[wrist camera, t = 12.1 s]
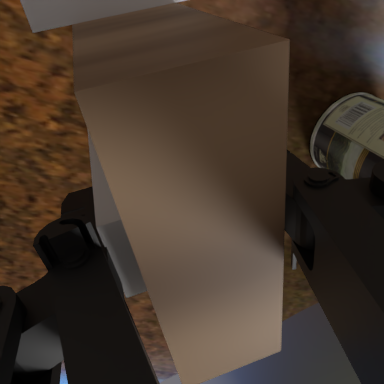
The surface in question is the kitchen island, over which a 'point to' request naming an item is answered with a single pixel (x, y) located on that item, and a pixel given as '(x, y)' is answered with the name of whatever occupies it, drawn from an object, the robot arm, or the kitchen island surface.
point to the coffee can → (350, 136)
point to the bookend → (190, 165)
